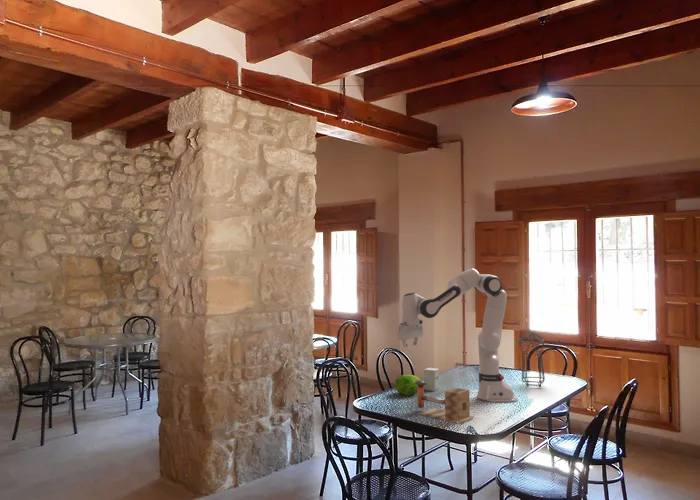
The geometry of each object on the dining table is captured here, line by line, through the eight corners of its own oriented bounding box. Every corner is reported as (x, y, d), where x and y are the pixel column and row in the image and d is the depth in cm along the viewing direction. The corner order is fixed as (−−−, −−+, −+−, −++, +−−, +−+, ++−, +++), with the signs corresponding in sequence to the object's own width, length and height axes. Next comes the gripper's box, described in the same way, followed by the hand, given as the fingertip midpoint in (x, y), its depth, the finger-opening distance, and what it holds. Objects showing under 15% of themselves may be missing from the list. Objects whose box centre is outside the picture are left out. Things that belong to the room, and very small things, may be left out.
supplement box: (434, 391, 311) (434, 370, 311) (423, 389, 315) (423, 369, 315) (439, 388, 317) (439, 368, 318) (428, 387, 321) (428, 367, 322)
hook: (412, 406, 269) (412, 381, 269) (419, 404, 273) (419, 379, 274) (442, 413, 257) (441, 387, 257) (448, 410, 261) (448, 385, 262)
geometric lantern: (546, 390, 313) (544, 333, 314) (519, 389, 318) (517, 332, 319) (546, 384, 327) (544, 330, 328) (521, 383, 333) (518, 329, 334)
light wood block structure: (420, 414, 262) (420, 387, 262) (433, 409, 271) (433, 383, 271) (462, 424, 246) (461, 394, 246) (474, 418, 255) (474, 390, 255)
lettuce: (429, 392, 307) (429, 373, 307) (408, 399, 293) (408, 378, 293) (411, 389, 317) (411, 369, 317) (390, 394, 303) (390, 374, 303)
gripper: (403, 323, 279) (403, 348, 278) (424, 320, 294) (424, 344, 293) (394, 322, 283) (394, 347, 282) (415, 319, 298) (415, 343, 298)
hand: (410, 346), depth 288 cm, fingers open, 8 cm apart
